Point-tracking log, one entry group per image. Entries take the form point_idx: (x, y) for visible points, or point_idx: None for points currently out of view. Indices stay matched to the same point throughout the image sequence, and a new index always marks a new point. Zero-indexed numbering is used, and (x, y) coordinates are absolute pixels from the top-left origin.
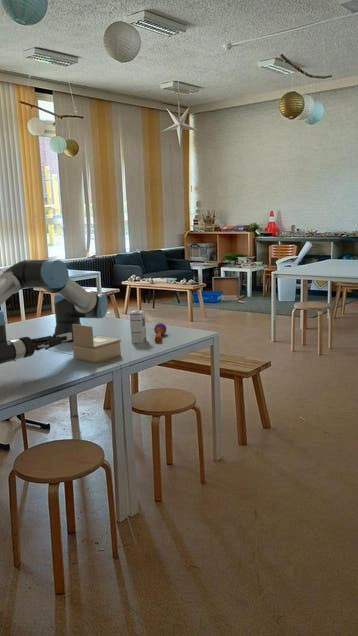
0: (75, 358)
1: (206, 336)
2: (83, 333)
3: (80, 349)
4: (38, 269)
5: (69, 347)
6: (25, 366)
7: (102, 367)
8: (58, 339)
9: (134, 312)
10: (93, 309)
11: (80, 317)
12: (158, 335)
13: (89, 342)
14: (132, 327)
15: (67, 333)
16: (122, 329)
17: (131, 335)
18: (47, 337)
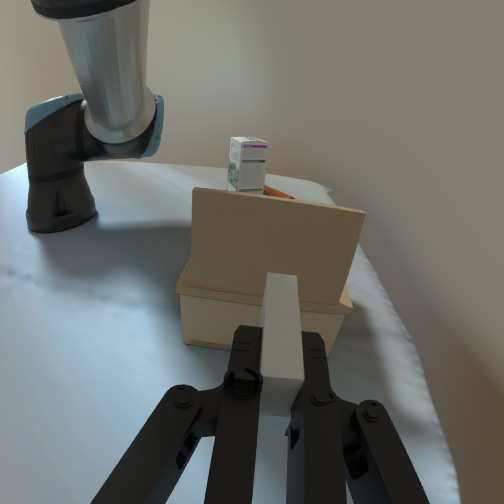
0: (194, 343)
1: (325, 190)
2: (285, 245)
3: (237, 315)
4: None
5: (87, 255)
6: (32, 483)
7: (394, 381)
8: (397, 447)
9: (253, 141)
10: (145, 131)
11: (92, 159)
12: (285, 194)
13: (320, 289)
14: (243, 178)
15: (284, 293)
16: (147, 178)
17: None
18: (216, 468)
